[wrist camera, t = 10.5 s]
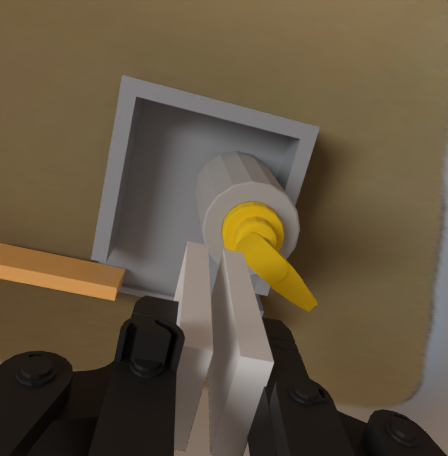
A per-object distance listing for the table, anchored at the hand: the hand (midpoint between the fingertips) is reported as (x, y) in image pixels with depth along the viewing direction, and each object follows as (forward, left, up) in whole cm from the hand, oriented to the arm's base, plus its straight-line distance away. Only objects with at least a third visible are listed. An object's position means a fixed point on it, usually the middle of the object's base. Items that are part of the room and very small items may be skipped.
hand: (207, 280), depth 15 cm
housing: (0, -3, -22) cm, 23 cm away
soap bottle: (+3, 0, -22) cm, 22 cm away
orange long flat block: (-11, -10, -21) cm, 26 cm away
